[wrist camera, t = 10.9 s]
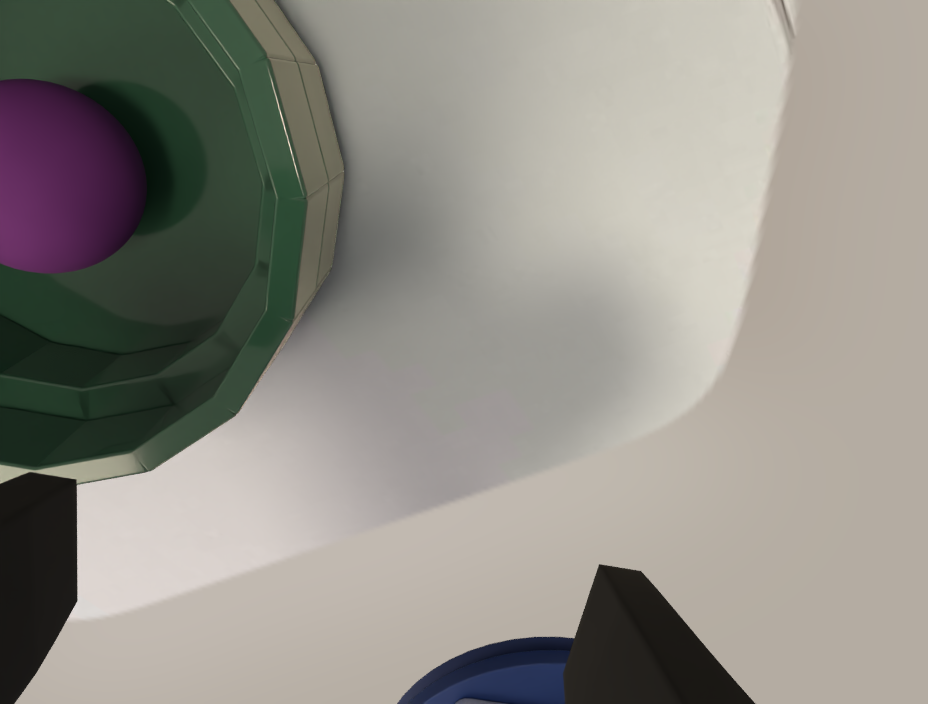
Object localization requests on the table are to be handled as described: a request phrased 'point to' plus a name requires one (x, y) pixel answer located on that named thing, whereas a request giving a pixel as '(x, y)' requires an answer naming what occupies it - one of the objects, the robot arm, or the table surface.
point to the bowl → (169, 231)
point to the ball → (64, 179)
